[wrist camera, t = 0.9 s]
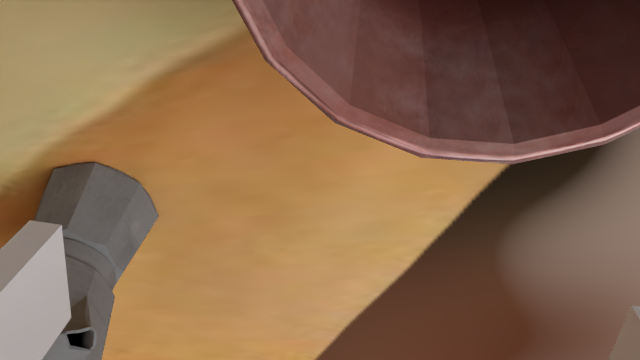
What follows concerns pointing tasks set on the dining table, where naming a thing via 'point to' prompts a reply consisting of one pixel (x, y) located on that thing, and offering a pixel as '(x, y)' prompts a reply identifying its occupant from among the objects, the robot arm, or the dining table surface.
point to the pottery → (461, 71)
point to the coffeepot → (93, 246)
